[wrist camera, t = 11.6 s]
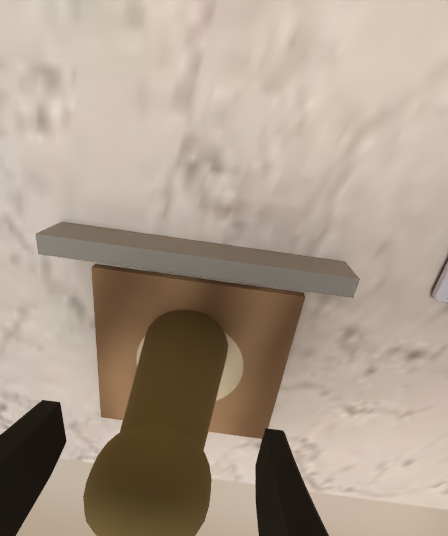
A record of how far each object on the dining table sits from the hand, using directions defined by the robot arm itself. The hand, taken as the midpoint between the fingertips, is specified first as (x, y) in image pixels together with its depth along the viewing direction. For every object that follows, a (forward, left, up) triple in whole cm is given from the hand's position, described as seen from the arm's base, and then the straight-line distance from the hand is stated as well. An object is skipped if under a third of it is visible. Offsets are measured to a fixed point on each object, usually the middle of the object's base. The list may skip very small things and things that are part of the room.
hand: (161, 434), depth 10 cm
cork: (0, +4, -10) cm, 11 cm away
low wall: (0, -3, -10) cm, 11 cm away
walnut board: (0, +6, -10) cm, 12 cm away
